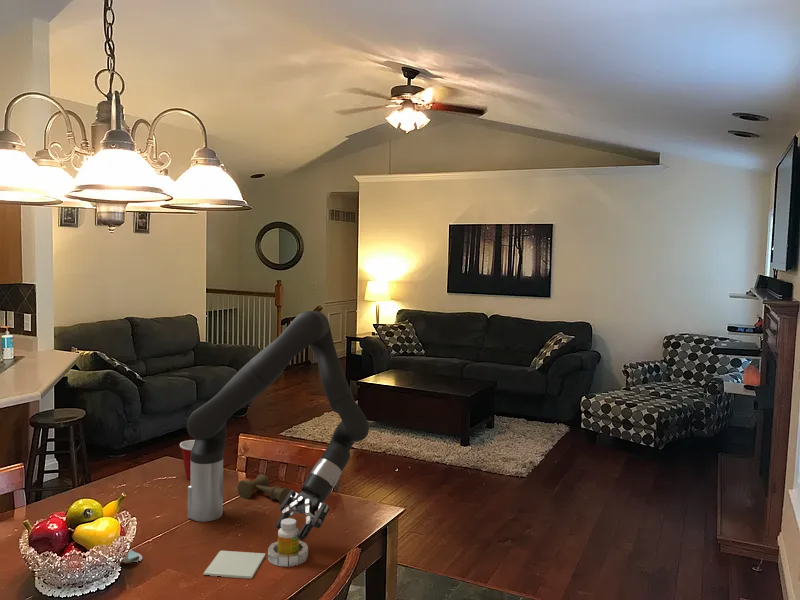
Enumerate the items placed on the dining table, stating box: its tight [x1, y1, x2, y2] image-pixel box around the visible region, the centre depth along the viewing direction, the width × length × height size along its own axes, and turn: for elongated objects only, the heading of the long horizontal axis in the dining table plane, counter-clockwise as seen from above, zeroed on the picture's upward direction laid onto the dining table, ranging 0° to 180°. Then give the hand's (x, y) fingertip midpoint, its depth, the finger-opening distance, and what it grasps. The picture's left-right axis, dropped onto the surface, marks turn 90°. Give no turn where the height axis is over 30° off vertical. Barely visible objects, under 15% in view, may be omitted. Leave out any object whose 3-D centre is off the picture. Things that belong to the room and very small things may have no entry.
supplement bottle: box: [277, 517, 300, 555], centre depth 170 cm, size 5×5×10 cm
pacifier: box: [123, 549, 144, 563], centre depth 166 cm, size 7×6×6 cm
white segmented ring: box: [267, 539, 309, 568], centre depth 170 cm, size 10×10×2 cm
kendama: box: [236, 473, 291, 504], centre depth 210 cm, size 6×10×20 cm
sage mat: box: [203, 550, 266, 580], centre depth 165 cm, size 12×12×1 cm
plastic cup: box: [179, 439, 195, 481], centre depth 224 cm, size 11×11×12 cm
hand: (288, 533), depth 170 cm, fingers open, 8 cm apart
